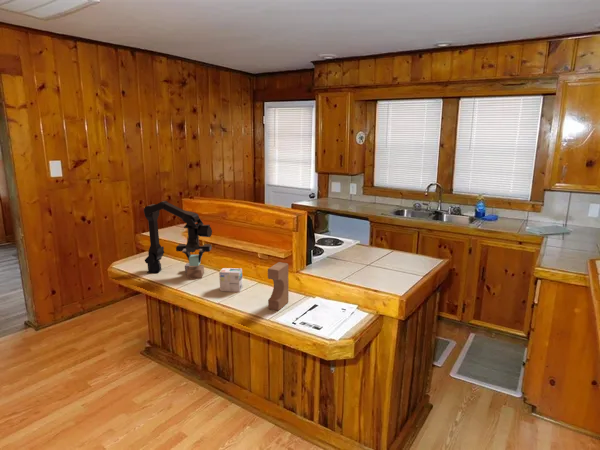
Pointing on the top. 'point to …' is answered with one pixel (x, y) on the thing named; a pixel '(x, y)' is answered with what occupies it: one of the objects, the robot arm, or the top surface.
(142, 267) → the top surface
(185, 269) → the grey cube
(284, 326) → the top surface
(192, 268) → the walnut block
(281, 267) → the decorative block
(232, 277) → the light bulb box
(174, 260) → the top surface
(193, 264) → the teal cube
